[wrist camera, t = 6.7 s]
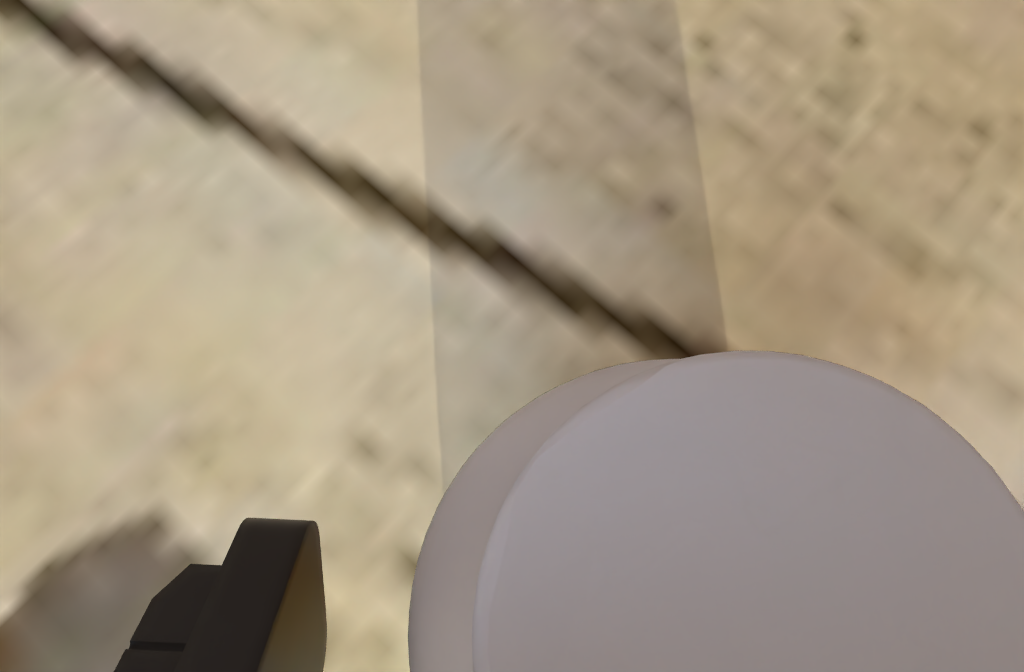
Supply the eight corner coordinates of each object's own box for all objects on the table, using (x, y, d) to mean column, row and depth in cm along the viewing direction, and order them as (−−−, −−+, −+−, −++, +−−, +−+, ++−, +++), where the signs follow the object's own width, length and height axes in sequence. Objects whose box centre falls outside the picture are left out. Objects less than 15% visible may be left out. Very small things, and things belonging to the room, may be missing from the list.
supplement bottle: (633, 399, 16) (807, 119, 7) (836, 654, 15) (1373, 725, 6) (384, 585, 15) (203, 546, 6) (580, 874, 14) (731, 1384, 5)
